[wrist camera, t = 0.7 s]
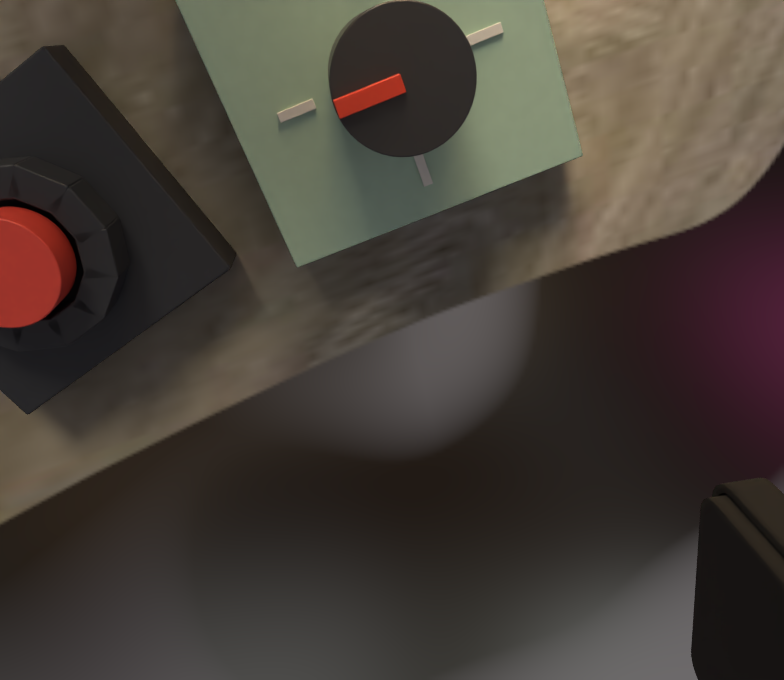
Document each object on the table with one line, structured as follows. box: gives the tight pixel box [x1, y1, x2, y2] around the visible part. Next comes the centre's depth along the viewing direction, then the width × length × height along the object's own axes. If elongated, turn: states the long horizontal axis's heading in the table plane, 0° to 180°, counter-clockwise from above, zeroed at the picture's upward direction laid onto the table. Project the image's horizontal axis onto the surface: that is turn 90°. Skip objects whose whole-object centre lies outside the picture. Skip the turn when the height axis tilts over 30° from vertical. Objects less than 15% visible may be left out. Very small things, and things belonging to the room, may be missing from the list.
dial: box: [328, 0, 477, 157], centre depth 23 cm, size 4×4×5 cm
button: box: [0, 206, 77, 328], centre depth 25 cm, size 4×4×2 cm
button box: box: [0, 45, 236, 414], centre depth 27 cm, size 11×10×4 cm
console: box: [175, 0, 583, 267], centre depth 27 cm, size 12×11×3 cm
